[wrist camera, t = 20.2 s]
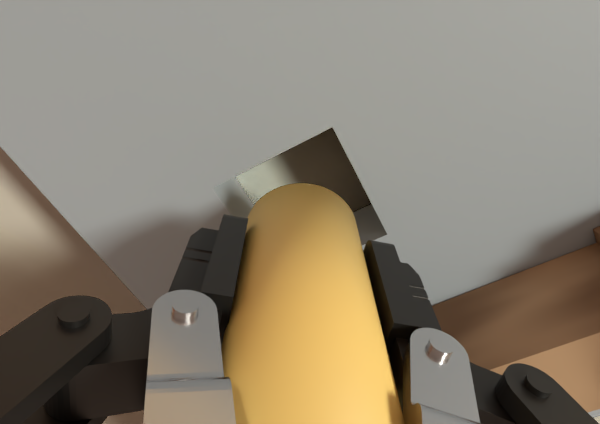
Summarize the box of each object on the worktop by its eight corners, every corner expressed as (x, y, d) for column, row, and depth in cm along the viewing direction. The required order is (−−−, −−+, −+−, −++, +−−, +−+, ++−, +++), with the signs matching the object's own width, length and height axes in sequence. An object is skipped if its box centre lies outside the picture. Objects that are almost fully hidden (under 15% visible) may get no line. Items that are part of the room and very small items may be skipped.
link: (793, 131, 14) (935, 177, 11) (792, 274, 16) (906, 344, 13) (230, 356, 18) (216, 434, 15) (300, 440, 21) (300, 521, 18)
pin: (374, 253, 15) (468, 584, 7) (279, 294, 15) (261, 632, 8) (326, 163, 13) (374, 453, 5) (223, 213, 14) (127, 532, 6)
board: (834, 284, 20) (902, 323, 18) (317, 455, 26) (319, 501, 23) (888, -632, 9) (1083, -830, 7) (-40, 25, 15) (-100, 35, 12)
